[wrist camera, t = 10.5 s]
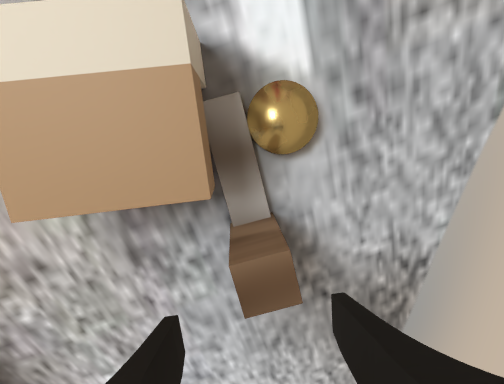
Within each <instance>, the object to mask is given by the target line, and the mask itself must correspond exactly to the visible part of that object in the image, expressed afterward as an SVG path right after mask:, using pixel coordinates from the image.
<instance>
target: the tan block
mask: <svg viewBox="0 0 504 384" xmlns="http://www.w3.org/2000/svg"><path fill="white" fill-rule="evenodd" d="M201 88H206V82H205V75H204V68H203V61H202V53H201V46H200V41H199V38H198V36H197V33H196V30H195V28H194V25H193V23H192V20H191V17H190V15H189V12H188V9H187V7H186V4H185V1H184V0H45V1H33V2H21V3H10V4H0V190H1V193H2V196H3V199H4V202H5V205H6V208H7V211H8V214H9V217H10V220H11V223H15V222H23V221H32V220H40V219H48V218H57V217H65V216H74V215H82V214H90V213H99V212H107V211H115V210H124V209H132V208H140V207H149V206H157V205H166V204H174V203H182V202H191V201H199V200H207V199H211V197H212V194H213V191H214V188H215V183H214V176H213V169H212V162H211V155H210V147H209V140H208V133H207V126H206V119H205V112H204V105H203V98H202V91H201Z"/></svg>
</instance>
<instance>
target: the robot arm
mask: <svg viewBox="0 0 504 384" xmlns="http://www.w3.org/2000/svg"><path fill="white" fill-rule="evenodd" d="M331 299H332V324H333V333H334V336H335V338H336V341H337V344H338V346H339V349H340V351H341V353H342V355H343V357H344V359H345V361H346V363H347V365H348V367H349V369H350V371H351V373H352V375H353V376H354V378H355V380H356V382H357V384H504V378H503V377H500V376H497V375H494V374H491V373H489V372H485V371H483V370H481V369H478V368H475V367H472V366H470V365H467V364H465V363H463V362H460V361H458V360H456V359H453V358H451V357H449V356H447V355H445V354H442V353H440V352H438V351H436V350H434V349H432V348H430V347H428V346H426V345H424V344H422V343H420V342H418V341H417V340H415V339H413V338H411V337H409V336H408V335H406V334H404V333H402V332H401V331H399V330H397V329H396V328H394V327H393V326H391V325H389V324H388V323H386V322H385V321H383V320H382V319H380V318H379V317H377V316H376V315H375V314H373V313H372V312H370V311H369V310H367V309H366V308H365V307H363V306H362V305H361V304H359V303H358V302H356V301H355V300H354V299H352V298H351V297H350V296H348V295H347V294H345V293H337V294H331ZM184 358H185V349H184V344H183V338H182V333H181V328H180V323H179V318H178V315H175V316H167V317H164V318H163V319H162V321H161V322H160V323H159V324H158V325H157V327H156V328H155V329H154V330H153V332H152V333H151V334H150V335H149V336H148V338H147V339H146V340H145V341H144V342H143V344H142V345H141V346H140V347H139V348H138V350H137V351H136V352H135V353H134V354H133V355H132V356H131V357H130V359H129V360H128V361H127V362H126V363H125V364H124V365H123V366H122V367H121V368H120V369H119V370H118V372H117V373H116V374H115V375H114V376H113V377H112V378H111V379H110V380H109V381H108V382H106V383H105V384H180V383H181V379H182V373H183V366H184Z"/></svg>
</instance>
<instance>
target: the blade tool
mask: <svg viewBox="0 0 504 384" xmlns="http://www.w3.org/2000/svg"><path fill="white" fill-rule="evenodd" d="M203 105H204V112H205V119H206V126H207V133H208V140H209V144H210V148H211V151H212V155H213V158H214V162H215V165H216V169H217V172H218V175H219V179H220V182H221V186H222V189H223V193H224V196H225V200H226V203H227V206H228V210H229V213H230V217H231V220H232V223H231V224H230V250H229V268H230V272H231V275H232V278H233V281H234V285H235V288H236V291H237V294H238V298H239V301H240V304H241V307H242V311H243V314H244V317H245V319H246V318H250V317H253V316H257V315H261V314H264V313H268V312H272V311H276V310H279V309H283V308H287V307H290V306H294V305H298V304H302V303H303V302H302V298H301V293H300V289H299V285H298V281H297V277H296V273H295V269H294V264H293V260H292V256H291V252H290V249H289V247H288V245H287V242H286V240H285V238H284V236H283V234H282V232H281V230H280V228H279V226H278V224H277V221H276V219H275V217H274V215H273V213H272V212H271V213H270V211H269V207H268V204H267V200H266V196H265V192H264V188H263V184H262V180H261V176H260V172H259V168H258V164H257V160H256V156H255V152H254V148H253V144H252V140H251V136H250V132H249V128H248V124H247V120H246V116H245V112H244V108H243V104H242V100H241V96H240V92H236V93H232V94H228V95H224V96H220V97H217V98H213V99H209V100H205V101H203Z"/></svg>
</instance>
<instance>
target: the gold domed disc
mask: <svg viewBox="0 0 504 384" xmlns="http://www.w3.org/2000/svg"><path fill="white" fill-rule="evenodd" d="M247 124H248V128H249V132H250V135H251V137H252V138H253V140H254V141H255V142H256V143H257V144H258V145H259V146H260V147H262V148H263V149H265V150H267V151H269V152H271V153H275V154H289V153H293V152H295V151H298V150H299V149H301V148H302V147H304V146H305V145H306V144H307V143H308V142H309V141H310V140H311V138H312V137H313V135H314V133H315V131H316V128H317V124H318V109H317V105H316V102H315V100H314V98H313V96H312V95H311V94H310V92H309V91H308V90H307V89H306V88H305V87H303V86H302V85H300V84H298V83H296V82H293V81H288V80H280V81H275V82H272V83H269V84H267V85H266V86H264V87H263V88H261V89H260V90H259V91H258V92H257V93H256V95H255V96H254V98H253V99H252V101H251V103H250V105H249V108H248V112H247Z"/></svg>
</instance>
